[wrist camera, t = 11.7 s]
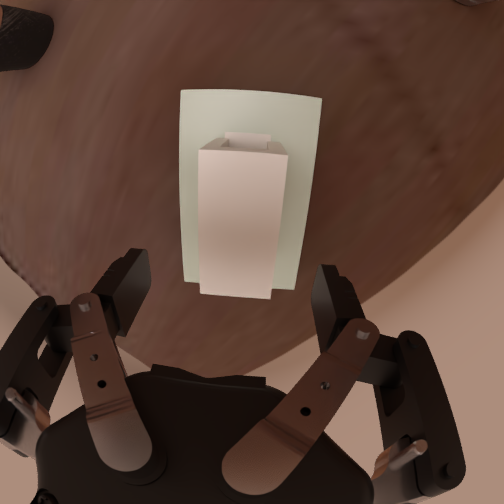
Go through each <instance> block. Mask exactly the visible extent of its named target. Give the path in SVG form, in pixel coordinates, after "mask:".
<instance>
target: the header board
mask: <svg viewBox="0 0 504 504" xmlns="http://www.w3.org/2000/svg"><path fill="white" fill-rule="evenodd" d="M321 104H322V98H316V97H309V96H302V95H295V94H286V93H277V92H265V91H251V90H226V89H198V90H181V101H180V133H179V186H180V218H181V239H182V255H183V269H184V281H186V282H197V283H200V276H199V245H198V152H199V149H200V148H202V147H203V146H205V145H206V144H208V143H209V142H211V141H212V140H214V139H215V138H228V139H229V144H228V147H237V148H253V149H265V150H267V141H272V142H280V143H281V145H282V146H283V148H284V149H285V151H286V153H287V154H288V162H287V171H286V180H285V189H284V197H283V206H282V214H281V222H280V230H279V238H278V246H277V253H276V261H275V268H274V276H273V283H272V288H275V289H292V290H294V287H295V282H296V277H297V271H298V266H299V260H300V255H301V249H302V243H303V237H304V231H305V225H306V219H307V213H308V206H309V200H310V193H311V186H312V179H313V172H314V164H315V157H316V149H317V141H318V132H319V123H320V114H321Z"/></svg>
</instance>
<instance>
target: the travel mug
mask: <svg viewBox="0 0 504 504" xmlns="http://www.w3.org/2000/svg"><path fill="white" fill-rule="evenodd" d="M52 34H53V21H52V19H51V18H50V17H49V16H48V15H45V14H42V13H38V12H34V11H30V10H26V9H21V8H16V7H11V6H6V5H0V72H1V71H10V70H19V69H26V68H29V67H31V66H33V65H34V64H35V63H36V62H37V61H38V60H39V59H40V58H41V57H42V55H43V54H44V53H45V51H46V49H47V47H48V45H49V43H50V41H51V38H52Z"/></svg>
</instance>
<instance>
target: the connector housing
mask: <svg viewBox="0 0 504 504" xmlns="http://www.w3.org/2000/svg"><path fill="white" fill-rule="evenodd" d="M228 144H229V139H228V138H215V139H214V140H212V141H211V142H209V143H208V144H206V145H205V146H203V147H202V148H200V149H199V152H198V245H199V276H200V293H201V294H211V295H223V296H235V297H248V298H262V299H270V297H271V290H272V283H273V276H274V268H275V261H276V253H277V246H278V238H279V230H280V222H281V214H282V206H283V197H284V189H285V180H286V171H287V162H288V154H287V153H286V151H285V149H284V148H283V146H282V145H281V143H280V142H272V141H267V150H265V149H253V148H237V147H228Z"/></svg>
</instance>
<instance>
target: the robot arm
mask: <svg viewBox="0 0 504 504" xmlns="http://www.w3.org/2000/svg"><path fill="white" fill-rule="evenodd" d="M455 1H457V2H459V3H461V4H464V5H467V6H473V5H477V4H481V3H486V2H491V1H496V0H455ZM150 286H151V272H150V266H149V259H148V253H147V250H146V249H136V248H131V249H130V250H129V251H128V252H127V253H126V255H125V256H124V257H120V258H119V259H117V260H116V261H114V262H113V263H112V264H111V265H110V267H109V268H108V270H107V271H106V272H105V273H104V276H102V277H101V279H100V280H99V281H98V283H97V284H96V285H95V287H94V288H93V289H92V291H91V292H90V293H83V294H80V295H78V296H77V297H75V298H74V299H73V300H72V302H71V304H69V305H57V304H56V302H55V299H54V298H53V297H51V296H42V297H39V298H37V299H36V300H35V301H33V303H32V304H31V305H30V307H29V308H28V309H27V311H26V312H25V313H24V315H23V316H22V318H21V320H20V321H19V322H18V324H17V325H16V327H15V328H14V330H13V331H12V333H11V334H10V336H9V337H8V339H7V341H6V342H5V344H4V345H3V347H2V349H1V350H0V442H1V443H2V444H3V445H5V446H6V447H8V448H9V449H12V450H13V451H14V452H16V453H17V454H19V455H20V456H23V457H31V458H33V459H35V460H36V464H37V472H38V489H37V493H36V496H35V497H34V499H33V500H32V502H31V503H30V504H416V503H419V502H422V501H424V500H427V499H430V498H432V497H435V496H437V495H440V494H442V493H444V492H447V491H449V490H451V489H453V488H455V487H457V486H458V485H459V484H460V483H461V482H462V480H463V478H464V476H465V472H466V465H465V460H464V455H463V451H462V447H461V443H460V438H459V434H458V431H457V427H456V423H455V420H454V417H453V413H452V410H451V407H450V404H449V401H448V397H447V394H446V392H445V389H444V386H443V383H442V380H441V378H440V375H439V372H438V369H437V367H436V364H435V362H434V359H433V357H432V354H431V352H430V349H429V347H428V345H427V342H426V340H425V339H424V338H423V337H422V336H421V335H420V334H418V333H416V332H414V331H409V330H408V331H403V332H402V333H400V335H399V336H398V338H394V337H390V336H386V335H382V334H380V332H379V329H378V328H377V326H376V325H375V324H374V323H372V322H370V321H369V320H366V318H365V315H364V313H363V310H362V307H361V305H360V302H359V300H358V299H357V298H358V297H357V295H356V293H355V290H354V287H353V285H352V283H351V282H350V281H349V280H348V279H347V278H346V277H343V276H339V273H338V270H337V268H336V266H335V265H325V264H319V266H318V268H317V273H316V277H315V281H314V285H313V289H312V294H311V304H312V310H313V315H314V320H315V325H316V331H317V336H318V342H319V347H320V353H321V355H320V356H319V357H318V358H317V360H316V361H315V362H314V364H313V365H312V366H311V367H310V368H309V370H308V371H307V372H306V373H305V374H304V376H303V377H302V378H301V379H300V380H299V381H298V383H297V384H296V385H295V386H294V387H293V388H292V390H291V391H290V392H289V393H288V394H285V393H284V392H282V391H280V390H278V389H276V388H273V387H271V386H267V385H266V377H255V376H242V375H234V376H225V377H216V378H204V377H201V376H199V375H196V374H193V373H190V372H188V371H185V370H183V369H180V368H175V367H169V366H163V365H158V364H153V365H152V368H151V371H147V372H141V373H137V374H133V375H130V376H128V375H127V373H126V370H125V368H124V365H123V362H122V360H121V357H120V354H119V352H118V349H117V346H116V343H115V338H116V336H117V335H118V336H123V337H126V335H127V333H128V331H129V329H130V327H131V325H132V323H133V321H134V319H135V317H136V315H137V313H138V311H139V309H140V307H141V305H142V303H143V301H144V299H145V297H146V295H147V293H148V291H149V289H150ZM44 339H45V341H46V343H47V345H46V347H45V348H44V350H43V352H42V354H41V356H40V358H39V360H38V357H37V353H38V349H39V347H40V345H41V344H42V342H43V340H44ZM72 356H73V357H74V362H75V367H76V372H77V376H78V380H79V384H80V388H81V393H82V396H83V400H84V405H82V406H81V407H79V408H77V409H76V410H74V411H73V412H71V413H70V414H68V415H66V416H65V417H63V418H61V419H60V420H58V421H56V422H55V423H53V424H51V425H50V415H49V410H50V407H51V404H52V402H53V400H54V397H55V395H56V392H57V390H58V387H59V385H60V383H61V380H62V378H63V376H64V373H65V371H66V369H67V367H68V365H69V362H70V360H71V358H72ZM356 381H360V382H365V383H369V384H373V388H374V393H375V398H376V403H377V409H378V415H379V420H380V427H381V433H382V440H383V447H384V451H383V452H382V453H381V454H380V455H379V456H378V458H377V459H376V461H375V468H374V473H373V476H372V477H371V478H370V477H369V475H368V474H367V473H366V471H364V469H362V468H361V467H360V466H359V465H358V464H357V463H356V462H355V461H354V460H353V459H352V458H350V456H348V454H346V453H345V452H344V451H343V450H342V449H341V448H340V447H339V446H338V445H337V444H336V443H335V442H334V441H333V440H332V439H331V438H330V437H329V436H328V435H327V434H326V433H325V432H324V429H325V428H326V426H327V425H328V424H329V422H330V421H331V419H332V418H333V416H334V415H335V413H336V412H337V410H338V409H339V407H340V406H341V404H342V403H343V401H344V400H345V398H346V396H347V395H348V393H349V392H350V390H351V388H352V387H353V385H354V383H355V382H356Z"/></svg>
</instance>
